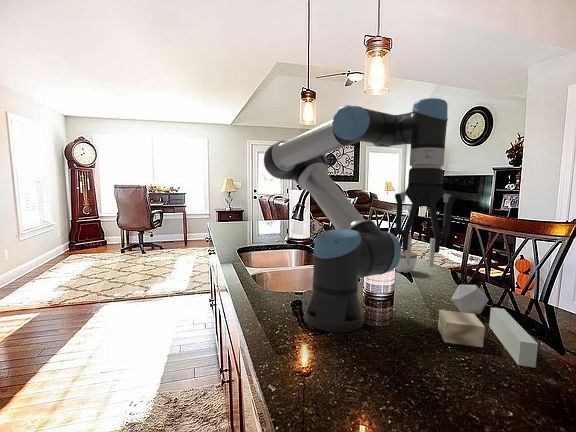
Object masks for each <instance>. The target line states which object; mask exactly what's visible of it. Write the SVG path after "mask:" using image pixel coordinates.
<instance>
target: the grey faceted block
mask: <svg viewBox="0 0 576 432" xmlns="http://www.w3.org/2000/svg"><path fill="white" fill-rule="evenodd" d="M489 299H490V298H488V297H487V296H486V294H485V293H484V292H483V291H482V289H480V288H479V286H478V285H477V284H458V286H457V287H456V289H455V291H454V292H453V295H452V297H451V298H450V300H451V302H452V303H453V304H454V305H455V307H456V308H457V309H458V311H459V312H463V313H472V314H475V315H481V313H482V312H483V310H484V308H485V307H486V305H487V303H488V301H489Z"/></svg>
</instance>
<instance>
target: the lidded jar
mask: <svg viewBox="0 0 576 432" xmlns="http://www.w3.org/2000/svg"><path fill="white" fill-rule="evenodd" d="M406 254H407V250H403V249H402V250H401V252H400V255H401V258H400V261H399V263H398V265H397V266H396V268H395V269H396V271H395V272H397V273H401V272H403V273H402V274H408V272H409V273H411V271H413V270H414V269H415V267H416V264H417V257H418V254H417V253H415V252H412V251H411V256H410V265H407V264H406ZM395 269H394V270H395Z"/></svg>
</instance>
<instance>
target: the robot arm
mask: <svg viewBox="0 0 576 432" xmlns="http://www.w3.org/2000/svg"><path fill="white" fill-rule="evenodd" d="M448 121H449V119H448V102H447V101H446V100H444V99H442V98H438V97H433V98H432V97H431V98H423V99H419V100H417V101H415V102H414V103H413V107H412V110H411V111H410V112H407V113H400V114H391V113H386V112H381V111H378V110H373V109H368V108H363V107H362V106H359V105H358V106H357V105H347V104H346V105H343V106H341V107H339V108H338V109H337V111H336V112H335V113H334V115H333V119H330V120H329V121H326V122H325V123H322V124H321V125H318V126H316V127H313V129H310V130H307V131H306V132H304V133H302V134H299V135H297V136H295V137H294V138H291V139H288V140H280V141H277V142H275V143H273V144H272V145H270V146H269V147H268V148H267V149H266V151H265V152H264V156H263V165H264V169H266V171H267V172H268V174H269V175H271V176H272V177H273V178H275V179H277V180H278V179H279V180H289V181H295V182H296V184H297V185H298V186H299V188H300V189H301V190H303V191H307V192H308V193H309V194H310V196H311V197H312V198H313V200H314V201H315V202H316V204H317V205H318V206H319V208H320V209H321V211H322V212H323V213H324V215H325V216H326V217H327V219H328V220H329V221H330V223H331V225H332V226H333V227H334V228H335V229H330V230H325V231H323V232H320V233H319V234H317V235H316V237H315V239H314V245H313V246H314V247H313V265H312V266H313V267H312V268H313V269H312V270H313V271H312V272H313V273H312V290H311V293H310V295H309V299H308V300H307V301H308V302H307V303H306V306H305V309H304V321H305V322H306V324H307V325H308V326H310V327H312V328H315V329H317V330H320V331H324V332H327V333H328V332H329V333H350V332H355V331H357V330H359V329H361V328H362V327H363V325H364V312H363V308H362V305H361V301H360V297H359V293H358V292H359V279H362V278H365V277H372V276H377V275H380V276H381V275H384V274H386V273H389V272H392V271H393V270H395V269H394V268H396V266H397V265H398V263H399V261H400V258H401V255H400V252H401V251H403V250H405V251H407V254H406V264H407V265H410V256H411V252H412V240H413V239H412V236H409V235H410V232H411V229H412V227H413V224H414V220H415V218H416V214H417V212H418V209H419V208H422V207H425V208H428V210H429V215H430V217H429V218H430V223H431V226H432V227H431V228H432V233H433V238H432V237H430V239H429V240H430V241H429V252H428V266H429V267H430V268H434V261H435V254H436V253H437V254H438V253H439V252H440V248H441V240H442V239H446V238H448V237H449V238H450V232H451V222H452V220H451V219H452V211H453V205H454V202H455V201H456V198H457V197H456V195H452V194H448V193H446V192H445V191H444V188H443V182H444V181H443V180H444V170H443V168H442V167H443V166H444V165H445V153H446V152H445V151H446V137H447V126H448ZM360 142H362V143H363V142H365V143H371V144H373V145H374V146H375V147H386V148H389V147H392V146H394V147H395V146H401V145H402V146H404V145H410V151H409V152H410V153H409V166H410V167H411V168H409V170H408V179H407V180H408V184H407V188H406V189H405V190H404V191H402V192H400V193H395V194H394V198H395V201H396V216H395V233H396V235H400V236H401V237H402V245H401V244H400V241H399V239H398V238H397V237H396V235H395V234H393V233H391V232H389V231H382V230H381V229H380V228H379V227H378V226H377V224H376V223H375V222H374V221H373V220H371V219H365V217H363V216H362V214H361V213H360V212H359V211H358V210H357V209H356V207H355V205H353V204H352V202H351V201H350V199H349V198H348V197H347V196H346V194H344V192H343V191H342V190H341V188H339V186H338V185H337V184H336V182H335V181H334V180H333V179H332V177H331V176H330V175H329V163H328V162H329V161H328V158H327V157H328V156H326V154H329V153H331V152H335V151H337V150H339V149H342V148H346V147H347V146H350V145H353V144H357V143H360ZM406 196H407V197H408V199H409V201H410V202H411V207H410V210H409V214H408V216H407V219H406V223H405V226H404V229H402V222H403V202H405V200H406ZM442 198H443V203H445V204H444V208H443V219H442V231H441V230H440V225H439V220H438V213H437V207H436V206H437V205H436V204H437V203H438V202H439V201H440V200H441V199H442Z"/></svg>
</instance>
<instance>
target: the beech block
mask: <svg viewBox="0 0 576 432" xmlns="http://www.w3.org/2000/svg"><path fill="white" fill-rule="evenodd" d="M437 322H438V324H437V329H438V331H439V333H440V335H441V338H442V340H443V342H444V343H445V344H446V343H447V344H455V345H461V346H463V345H464V346H469V347H470V346H471V347H476V348H484V342H485V341H484V340H485V330H486V326H485V325H484V324H483V322H482V321H481V320H480V319H479V318H478V317H477V314H472V313H463V312H460V311H453V310H444V309H438V321H437Z"/></svg>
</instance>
